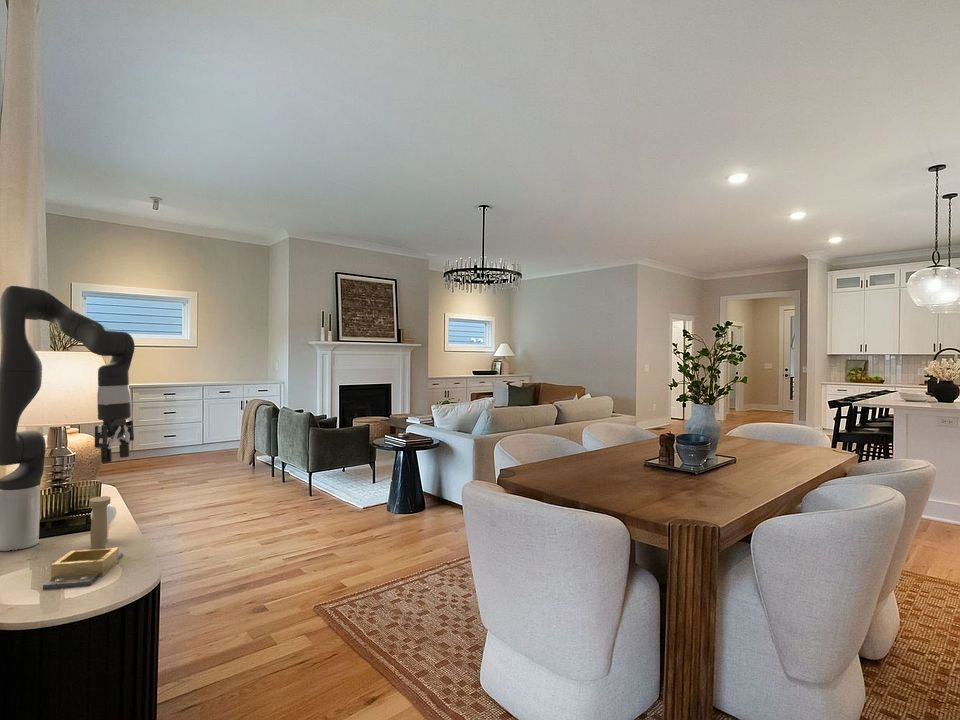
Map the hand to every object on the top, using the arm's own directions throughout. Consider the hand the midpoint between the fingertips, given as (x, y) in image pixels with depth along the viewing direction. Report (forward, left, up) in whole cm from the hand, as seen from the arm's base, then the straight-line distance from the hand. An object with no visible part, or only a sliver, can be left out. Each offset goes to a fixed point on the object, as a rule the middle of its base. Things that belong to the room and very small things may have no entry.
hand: (115, 460), depth 143 cm
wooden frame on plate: (-2, -10, -27) cm, 29 cm away
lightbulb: (-8, +16, -27) cm, 32 cm away
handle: (-5, +5, -27) cm, 28 cm away
